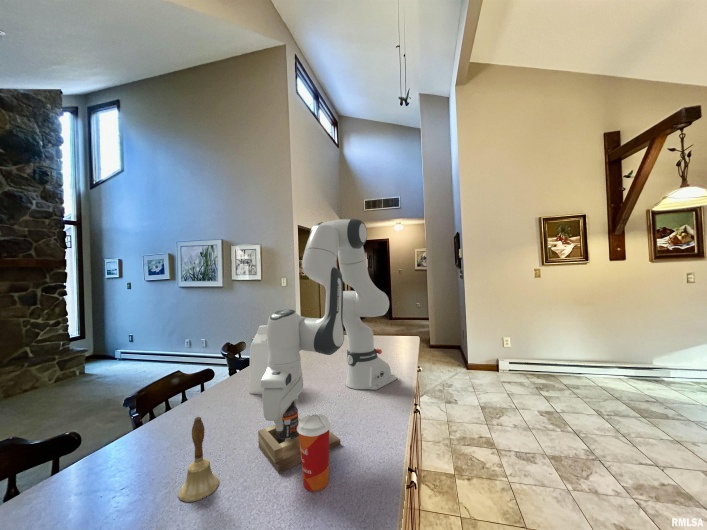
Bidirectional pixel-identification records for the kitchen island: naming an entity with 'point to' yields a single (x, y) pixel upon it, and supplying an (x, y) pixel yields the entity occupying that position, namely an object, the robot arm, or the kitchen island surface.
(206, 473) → the hand bell
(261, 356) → the milk
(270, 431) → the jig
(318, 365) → the kitchen island surface
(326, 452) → the paper cup
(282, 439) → the supplement bottle
